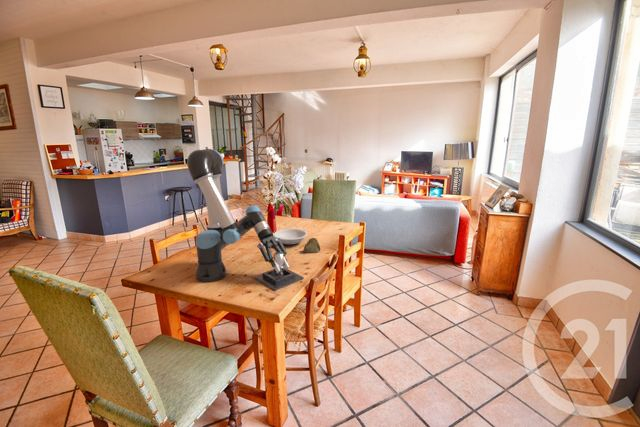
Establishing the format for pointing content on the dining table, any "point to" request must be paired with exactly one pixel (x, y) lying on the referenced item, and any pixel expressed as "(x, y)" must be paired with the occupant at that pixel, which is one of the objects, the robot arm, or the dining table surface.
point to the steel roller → (279, 263)
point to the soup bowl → (290, 235)
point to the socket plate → (278, 279)
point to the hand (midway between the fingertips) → (283, 269)
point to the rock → (312, 246)
